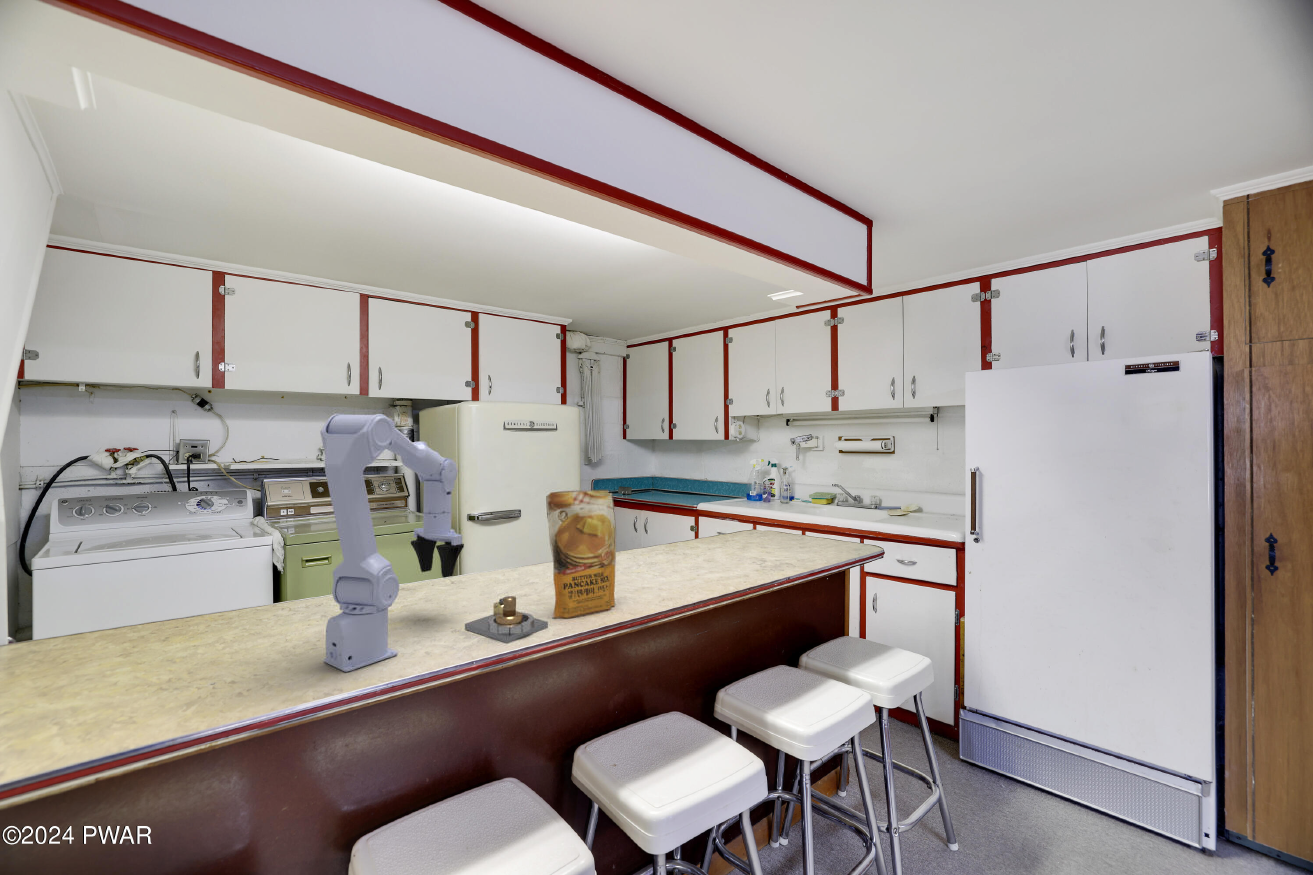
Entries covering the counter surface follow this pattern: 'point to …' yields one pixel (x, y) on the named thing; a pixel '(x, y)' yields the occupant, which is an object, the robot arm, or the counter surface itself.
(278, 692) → the counter surface
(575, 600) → the pancake mix bag
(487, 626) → the carrier
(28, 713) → the counter surface
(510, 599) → the gear
